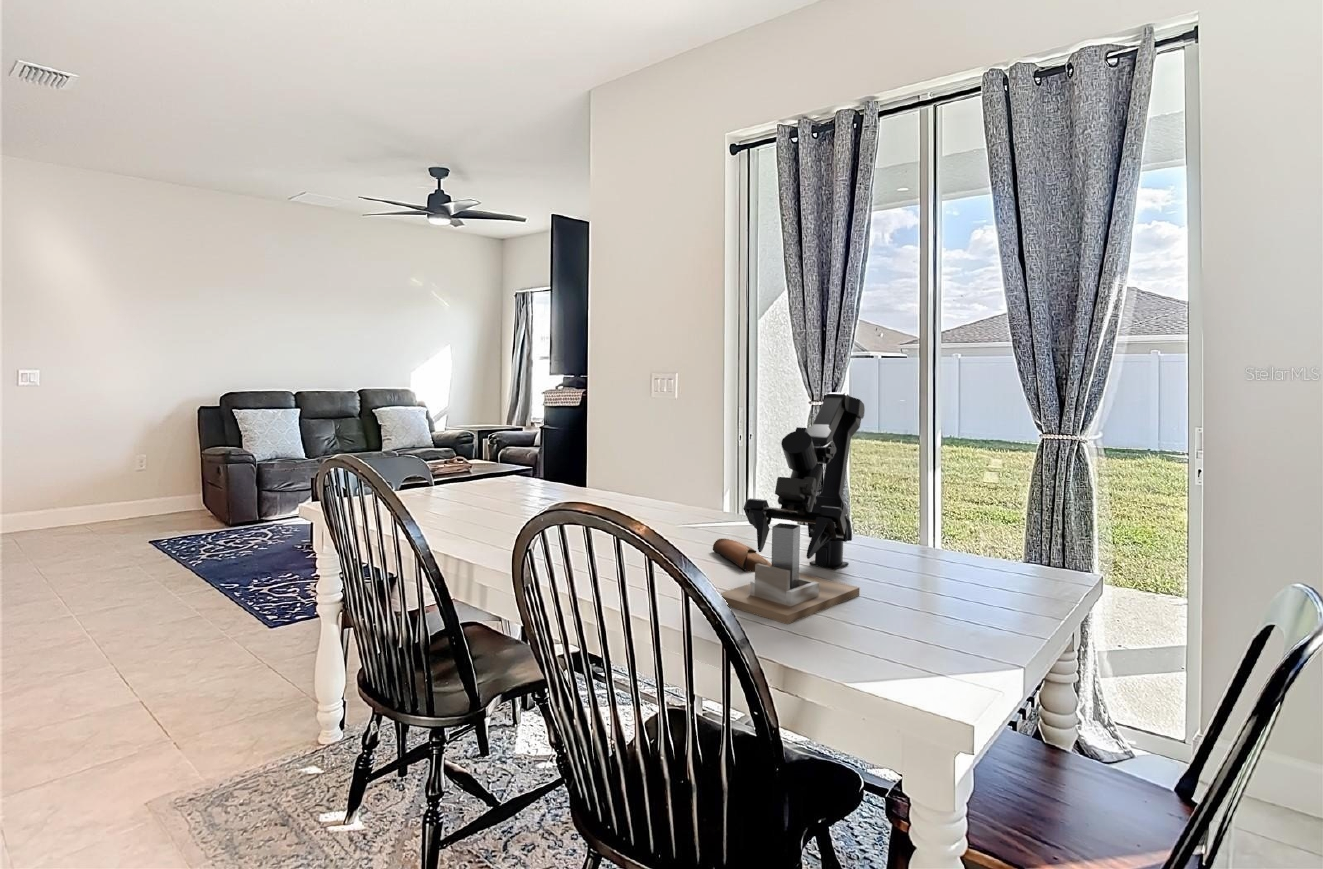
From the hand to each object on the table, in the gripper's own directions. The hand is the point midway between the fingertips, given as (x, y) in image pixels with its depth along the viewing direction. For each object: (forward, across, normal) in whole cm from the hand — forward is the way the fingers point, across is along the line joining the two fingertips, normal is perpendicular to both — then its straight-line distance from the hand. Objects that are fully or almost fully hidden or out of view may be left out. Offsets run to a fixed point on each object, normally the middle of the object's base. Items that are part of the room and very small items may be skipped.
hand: (783, 554), depth 131 cm
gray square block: (+5, 0, +7) cm, 8 cm away
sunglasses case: (-12, -18, +26) cm, 34 cm away
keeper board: (+4, 0, +10) cm, 11 cm away
